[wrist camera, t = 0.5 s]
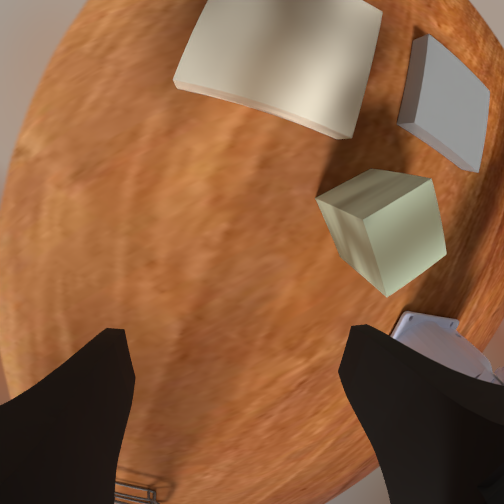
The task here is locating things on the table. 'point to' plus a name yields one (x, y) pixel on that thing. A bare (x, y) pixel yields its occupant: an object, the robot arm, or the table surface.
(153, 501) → the geometric lantern
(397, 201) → the sage green block
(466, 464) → the robot arm
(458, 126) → the slate grey block
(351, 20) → the pale ash block
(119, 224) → the table surface
